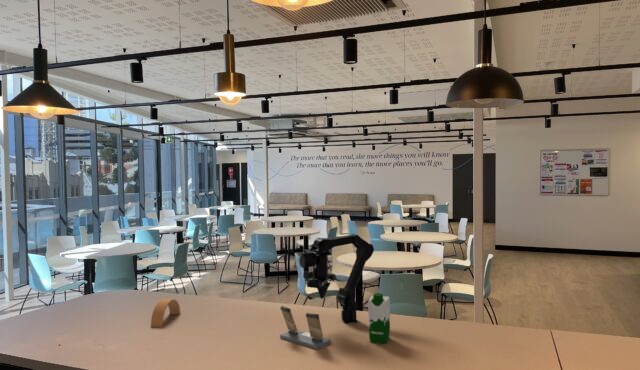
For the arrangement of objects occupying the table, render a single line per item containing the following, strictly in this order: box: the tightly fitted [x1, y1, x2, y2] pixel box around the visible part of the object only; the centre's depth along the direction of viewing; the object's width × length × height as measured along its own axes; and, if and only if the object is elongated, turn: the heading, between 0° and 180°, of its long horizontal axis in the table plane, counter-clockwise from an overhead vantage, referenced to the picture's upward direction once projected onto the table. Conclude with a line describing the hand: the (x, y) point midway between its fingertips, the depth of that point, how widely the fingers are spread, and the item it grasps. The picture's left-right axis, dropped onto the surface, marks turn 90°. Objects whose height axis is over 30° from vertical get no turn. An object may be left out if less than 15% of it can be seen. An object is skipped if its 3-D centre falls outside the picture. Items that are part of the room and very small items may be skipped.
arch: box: [150, 298, 181, 328], centre depth 222 cm, size 6×20×10 cm, turn 172°
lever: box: [280, 305, 298, 332], centre depth 194 cm, size 2×5×11 cm, turn 38°
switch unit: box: [279, 329, 332, 351], centre depth 191 cm, size 9×21×2 cm, turn 50°
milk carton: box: [367, 293, 391, 345], centre depth 190 cm, size 9×9×20 cm
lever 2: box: [305, 312, 324, 339], centre depth 184 cm, size 2×5×11 cm, turn 62°
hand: (322, 298), depth 208 cm, fingers closed
